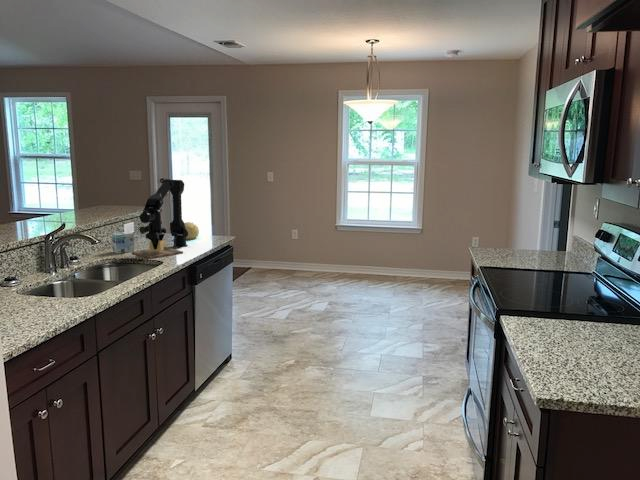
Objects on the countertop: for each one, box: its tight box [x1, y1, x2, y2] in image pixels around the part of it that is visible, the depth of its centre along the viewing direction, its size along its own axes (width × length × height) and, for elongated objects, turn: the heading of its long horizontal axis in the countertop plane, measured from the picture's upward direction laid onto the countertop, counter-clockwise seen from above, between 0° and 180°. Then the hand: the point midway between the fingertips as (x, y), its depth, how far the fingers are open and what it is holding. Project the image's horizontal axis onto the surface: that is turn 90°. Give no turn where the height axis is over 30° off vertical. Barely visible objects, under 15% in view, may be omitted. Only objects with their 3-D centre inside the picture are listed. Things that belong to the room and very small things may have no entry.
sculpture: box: [184, 221, 200, 240], centre depth 331 cm, size 12×12×11 cm
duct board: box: [131, 246, 184, 260], centre depth 287 cm, size 20×20×1 cm
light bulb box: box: [111, 231, 136, 254], centre depth 290 cm, size 11×7×11 cm, turn 129°
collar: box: [148, 240, 165, 251], centre depth 282 cm, size 6×6×5 cm
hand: (157, 248), depth 283 cm, fingers closed on collar, 6 cm apart
